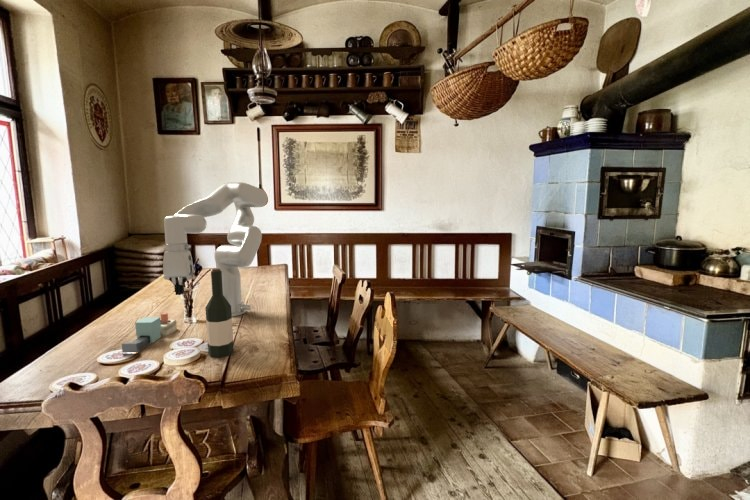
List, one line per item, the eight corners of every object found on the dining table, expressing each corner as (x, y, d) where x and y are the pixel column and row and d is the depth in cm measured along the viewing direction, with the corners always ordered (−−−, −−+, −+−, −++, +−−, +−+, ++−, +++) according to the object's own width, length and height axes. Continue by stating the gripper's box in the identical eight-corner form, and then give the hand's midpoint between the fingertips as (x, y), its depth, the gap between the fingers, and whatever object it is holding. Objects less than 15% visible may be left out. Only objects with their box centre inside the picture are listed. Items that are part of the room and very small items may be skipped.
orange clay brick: (168, 321, 162) (167, 313, 161) (166, 322, 160) (165, 314, 160) (163, 321, 162) (162, 313, 161) (161, 322, 160) (160, 314, 160)
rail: (162, 336, 157) (161, 326, 156) (137, 354, 140) (136, 343, 139) (149, 336, 157) (148, 326, 156) (122, 354, 140) (121, 343, 139)
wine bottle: (218, 359, 136) (213, 272, 131) (203, 354, 140) (197, 269, 136) (238, 351, 143) (234, 268, 138) (223, 346, 147) (218, 265, 143)
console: (176, 329, 166) (175, 318, 165) (167, 336, 158) (166, 324, 157) (152, 329, 165) (151, 318, 165) (141, 336, 158) (140, 324, 157)
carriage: (161, 336, 156) (160, 317, 154) (153, 342, 150) (151, 322, 148) (145, 336, 155) (144, 317, 154) (137, 342, 150) (135, 322, 148)
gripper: (200, 246, 160) (202, 292, 163) (162, 246, 160) (165, 291, 163) (191, 249, 153) (194, 296, 155) (152, 249, 153) (155, 296, 155)
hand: (179, 294), depth 159 cm, fingers closed
